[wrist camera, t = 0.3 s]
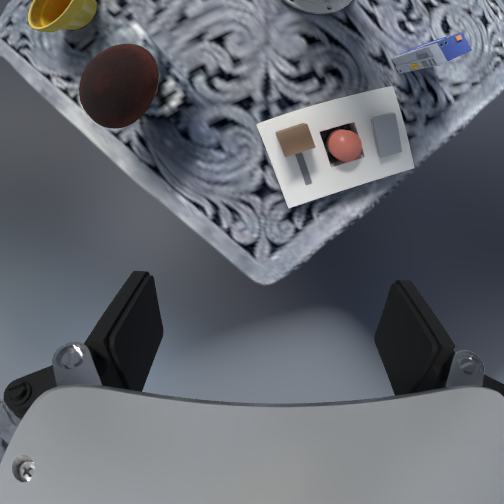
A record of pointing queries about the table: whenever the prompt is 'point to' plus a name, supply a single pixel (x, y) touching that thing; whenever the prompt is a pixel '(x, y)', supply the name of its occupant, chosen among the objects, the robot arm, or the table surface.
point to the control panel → (316, 160)
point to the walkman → (432, 53)
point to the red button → (344, 145)
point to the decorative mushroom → (119, 85)
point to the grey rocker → (386, 134)
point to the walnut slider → (295, 139)
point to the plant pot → (61, 14)
